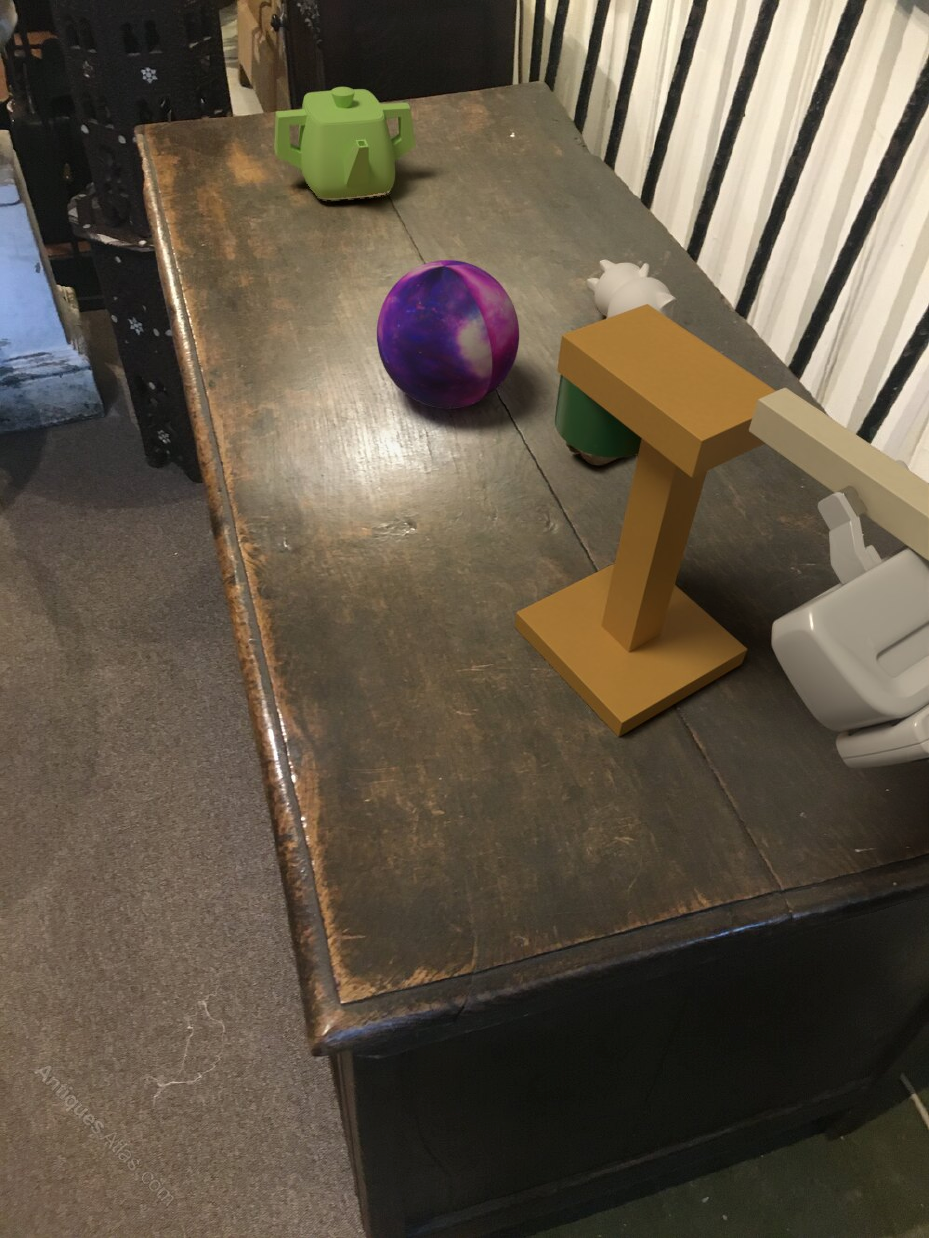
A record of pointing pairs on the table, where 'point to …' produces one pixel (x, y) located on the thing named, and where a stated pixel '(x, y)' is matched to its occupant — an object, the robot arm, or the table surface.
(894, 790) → the table surface
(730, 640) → the desk lamp
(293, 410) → the table surface
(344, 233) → the table surface
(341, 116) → the teapot
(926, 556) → the switch rod
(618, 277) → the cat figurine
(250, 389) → the table surface
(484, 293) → the decorative orb
